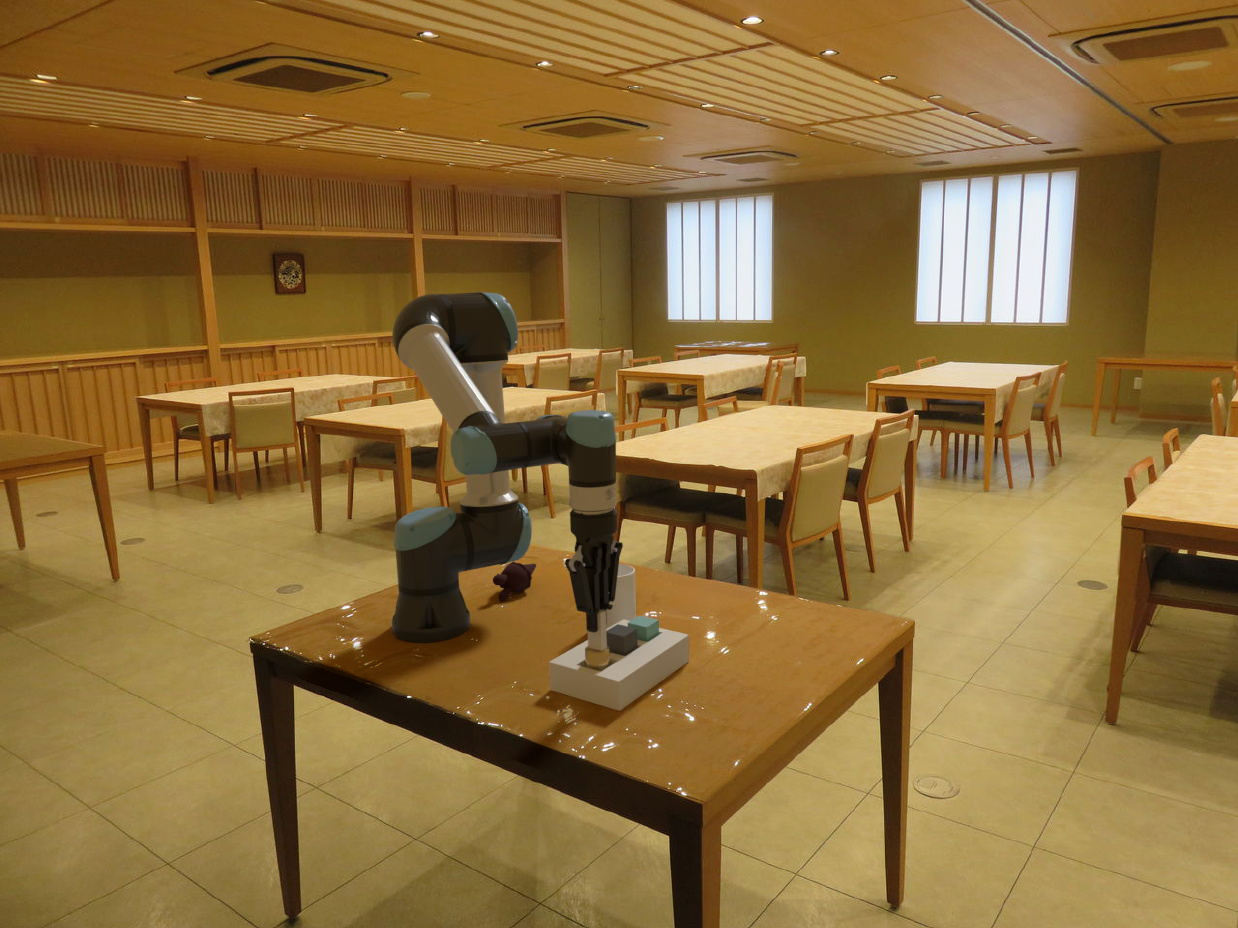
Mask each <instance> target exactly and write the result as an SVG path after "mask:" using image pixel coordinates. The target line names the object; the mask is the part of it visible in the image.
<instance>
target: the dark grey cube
mask: <svg viewBox="0 0 1238 928" xmlns="http://www.w3.org/2000/svg"><path fill="white" fill-rule="evenodd" d="M606 639H607V646H608V647H609V652H611V653H615V654H619V655H622V656H627V655H628V654H630V653H631V652H633V651H634V650H636V649H638V644H637V629H636V628H632V627H627V626H623V625H619V624H617V625H616V626H614V627H612V628H611V629H609V630H607V631H606Z"/></svg>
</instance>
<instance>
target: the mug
mask: <svg viewBox="0 0 1238 928" xmlns="http://www.w3.org/2000/svg"><path fill="white" fill-rule="evenodd" d="M609 604H610V605H613V607H612V609H611V610H608V609H607V624H606V629H607V628H609V627H611V626H613V625H614V624H616V623H618V622H620V621H621V620H623V619H624V620H628V621H632V620H633V619H635V618H637V614H636V613H637V610H636V609H637V608H636V605H637V604H636V569H635V568H634V567H633V566H631V565H629V564H623V563H619V566H618V575H617V584H616V593H615V600H614V601H613V602H611V601H610V603H609Z"/></svg>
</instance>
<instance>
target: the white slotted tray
mask: <svg viewBox="0 0 1238 928" xmlns="http://www.w3.org/2000/svg"><path fill="white" fill-rule="evenodd" d="M628 622H630V621H628V620H624V619H623V620H621V621H620V622H618V623H616V624H614V625H613V626H611V627H609V628H607V629H606V631H607V630H609V629H611V628H612V627H614V626H616V625H617V624H619V625H623V626H627V627H628ZM637 644H638V649H636V650H634V651H633V652H631V653H630V654H628V655H627V656H622V655H619V654H615V653H611V652H609V654H610V666H609V667H608V668H606V669H605V670H603V671H597V670H593V669H590V668H586V665H585V648H586V647H587V646H588V639H587V640H584V641H583V642H581V643H580V644H578V645H575V646H574V647H573V648H570V649H569V650H567V651H565V652H564V653H562V654H561V655H559V656H557V657H555V658H554V659H552V660H550V661H548V666H549V667H548V668H549V669H548V670H549V690H550V691H553V692H556V693H559V694H563V695H566V696H569V697H572V698H576V699H578V700H583V701H586V702H589V703H592V704H596V705H599V706H602V707H606V708H608V709H612V710H615V711H619V712H620V711H622V710H623V709H625V708H626V707H627V706H629V705H630V704H632V703H633V702H634V701H635V700H637V699H638V698H640V697H641V696H643V695H644V694H646V693H647V692H649V691H650V690H651V689H653V688H654V687H655V686H657V685H658V684H659V683H661V682H662V681H664V680H665V679H667V678H668V677H669V676H671V675H672V674H674V673H675V672H676V671H677V670H679V669H680V668H682V667H683V666H685V665H686V664H687V663H689V662H690V634H687V633H684V632H679V631H674V630H669V629H666V628H661V627H659V635H658V636H657V637H655V638H653V639H652V640H650V641H649V642H646V641H642V640H638V639H637Z"/></svg>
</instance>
